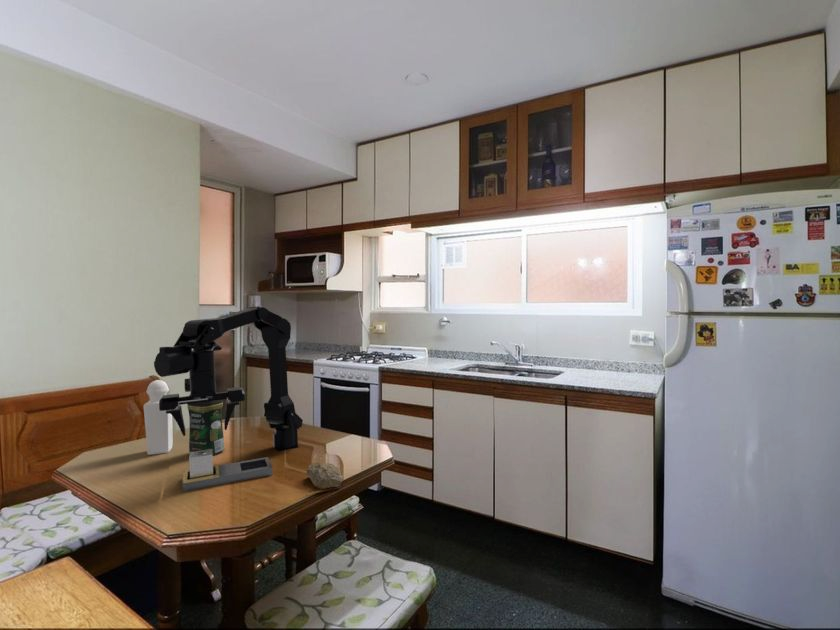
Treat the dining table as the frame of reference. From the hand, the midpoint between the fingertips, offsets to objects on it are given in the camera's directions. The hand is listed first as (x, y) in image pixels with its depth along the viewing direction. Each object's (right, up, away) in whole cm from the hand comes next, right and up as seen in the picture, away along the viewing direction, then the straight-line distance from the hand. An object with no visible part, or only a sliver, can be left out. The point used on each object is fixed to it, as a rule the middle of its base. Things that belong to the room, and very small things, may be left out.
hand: (205, 432), depth 109 cm
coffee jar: (-11, -13, +22) cm, 28 cm away
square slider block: (0, -12, -1) cm, 12 cm away
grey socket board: (+5, -12, +1) cm, 13 cm away
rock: (+31, -12, -3) cm, 33 cm away
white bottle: (-27, -13, +26) cm, 39 cm away
